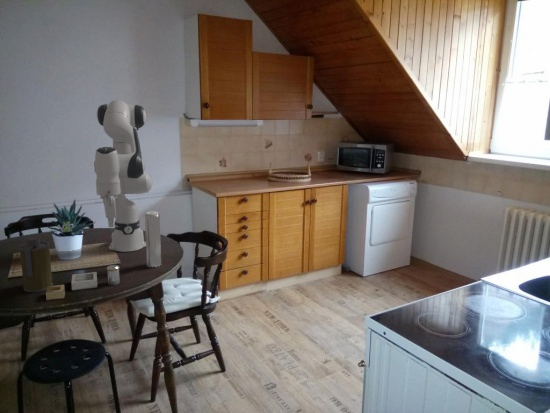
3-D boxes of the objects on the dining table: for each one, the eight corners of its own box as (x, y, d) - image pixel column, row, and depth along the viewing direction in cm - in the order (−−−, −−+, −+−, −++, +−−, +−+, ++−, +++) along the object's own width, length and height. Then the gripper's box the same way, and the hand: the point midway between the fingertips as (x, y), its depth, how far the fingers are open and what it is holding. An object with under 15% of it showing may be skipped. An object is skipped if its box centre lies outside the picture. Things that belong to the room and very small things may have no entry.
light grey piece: (157, 268, 191) (155, 214, 186) (144, 266, 193) (141, 213, 187) (163, 263, 198) (162, 211, 192) (150, 261, 199) (148, 210, 193)
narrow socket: (47, 293, 163) (47, 286, 162) (65, 291, 165) (64, 284, 164) (46, 300, 157) (45, 292, 157) (64, 298, 160) (63, 290, 159)
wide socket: (72, 281, 175) (72, 274, 174) (97, 278, 178) (96, 271, 177) (72, 290, 166) (71, 283, 166) (97, 287, 170) (96, 280, 169)
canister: (31, 281, 173) (26, 234, 169) (57, 281, 174) (53, 235, 170) (17, 293, 163) (11, 243, 158) (45, 292, 164) (41, 243, 159)
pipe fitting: (107, 281, 176) (106, 265, 174) (119, 279, 178) (118, 264, 176) (108, 285, 172) (107, 269, 170) (120, 284, 174) (119, 268, 172)
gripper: (118, 194, 158) (120, 229, 161) (115, 184, 176) (117, 216, 179) (100, 195, 155) (102, 231, 158) (99, 185, 174) (101, 217, 177)
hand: (110, 223), depth 169 cm, fingers open, 8 cm apart
